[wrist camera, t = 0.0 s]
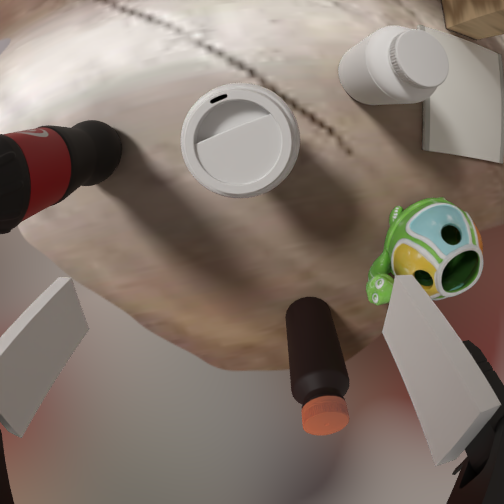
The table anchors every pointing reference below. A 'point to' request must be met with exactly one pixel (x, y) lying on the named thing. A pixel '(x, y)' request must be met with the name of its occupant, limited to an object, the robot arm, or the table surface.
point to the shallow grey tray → (466, 102)
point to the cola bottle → (52, 166)
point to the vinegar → (316, 366)
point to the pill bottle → (394, 67)
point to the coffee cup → (240, 140)
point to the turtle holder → (428, 251)
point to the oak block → (474, 17)
